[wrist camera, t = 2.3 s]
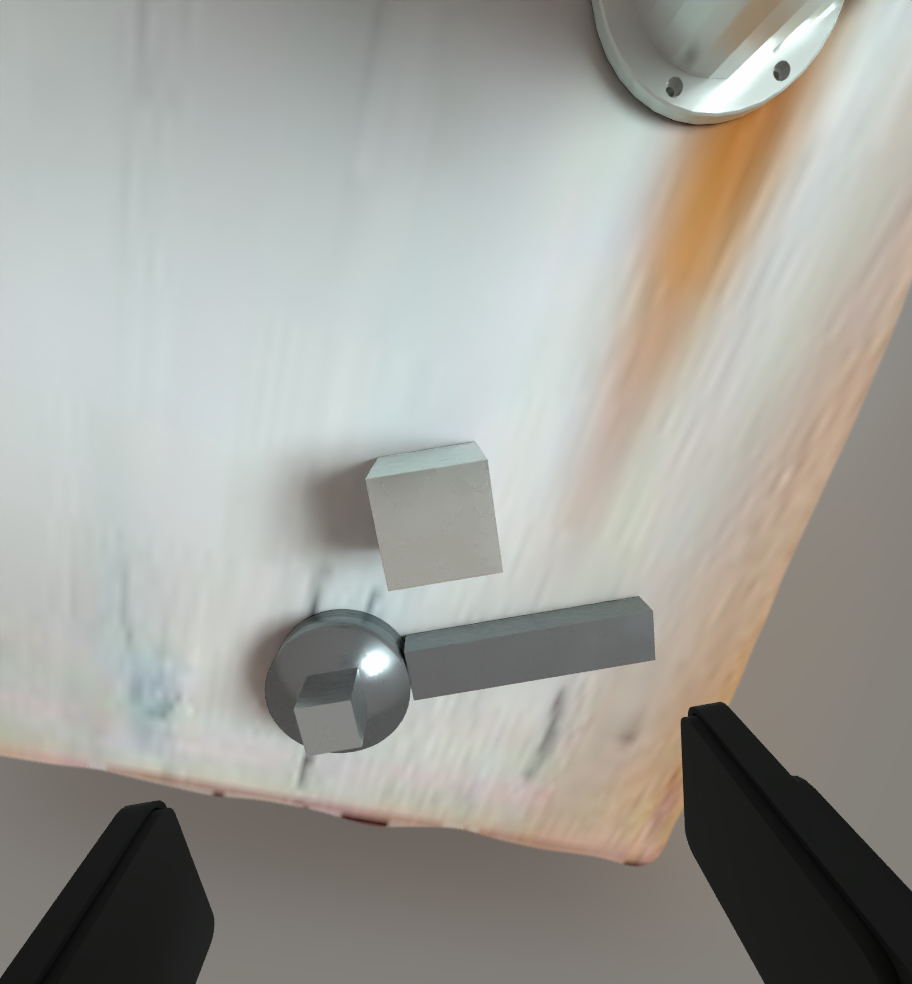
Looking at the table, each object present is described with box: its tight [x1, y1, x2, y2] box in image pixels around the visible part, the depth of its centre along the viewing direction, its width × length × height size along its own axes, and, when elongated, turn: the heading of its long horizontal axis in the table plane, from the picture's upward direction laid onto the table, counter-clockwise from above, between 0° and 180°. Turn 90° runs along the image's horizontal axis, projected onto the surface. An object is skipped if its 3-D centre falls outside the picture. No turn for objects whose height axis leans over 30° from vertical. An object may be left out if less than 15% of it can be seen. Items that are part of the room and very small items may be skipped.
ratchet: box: [265, 597, 655, 756], centre depth 30 cm, size 25×9×6 cm, turn 99°
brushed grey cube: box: [365, 442, 503, 591], centre depth 26 cm, size 6×6×6 cm
